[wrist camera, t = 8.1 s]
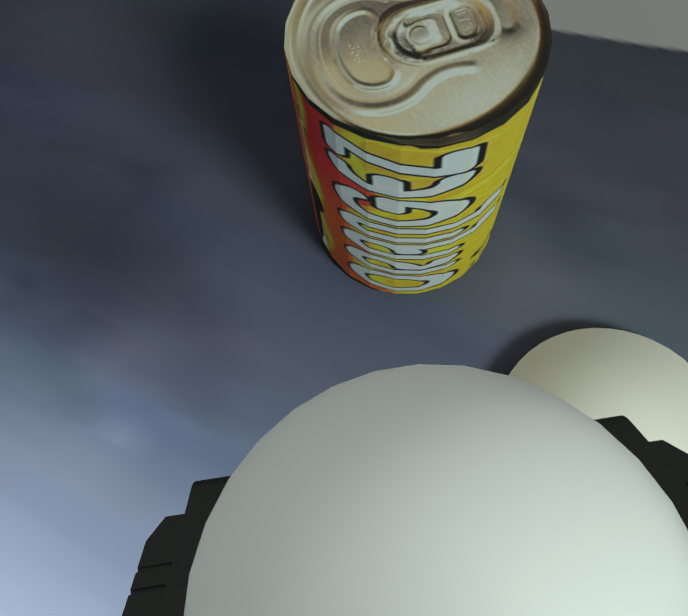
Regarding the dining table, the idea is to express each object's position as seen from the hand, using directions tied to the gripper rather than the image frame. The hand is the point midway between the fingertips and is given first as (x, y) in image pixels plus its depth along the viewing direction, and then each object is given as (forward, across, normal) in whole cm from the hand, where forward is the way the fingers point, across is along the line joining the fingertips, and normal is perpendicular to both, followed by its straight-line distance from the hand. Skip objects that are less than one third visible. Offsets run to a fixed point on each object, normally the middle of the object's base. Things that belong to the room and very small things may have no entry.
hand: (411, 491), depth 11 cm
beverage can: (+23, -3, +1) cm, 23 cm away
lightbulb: (+3, 0, +5) cm, 6 cm away
